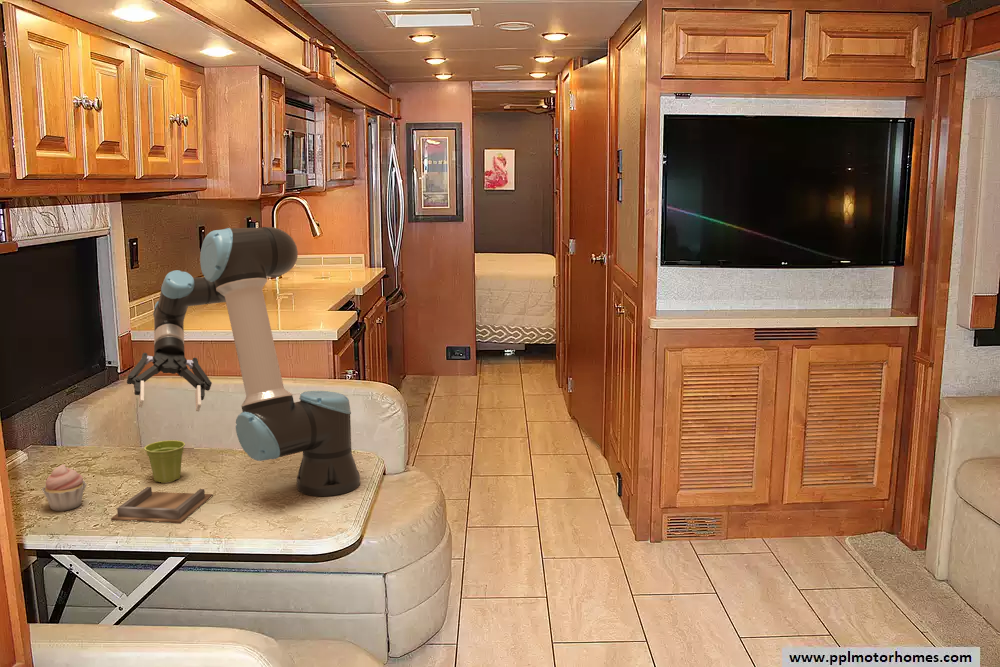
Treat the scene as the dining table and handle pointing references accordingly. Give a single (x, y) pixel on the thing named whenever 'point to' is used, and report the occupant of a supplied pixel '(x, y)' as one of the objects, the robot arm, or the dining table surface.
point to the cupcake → (64, 489)
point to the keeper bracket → (161, 506)
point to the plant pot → (165, 459)
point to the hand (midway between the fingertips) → (170, 406)
